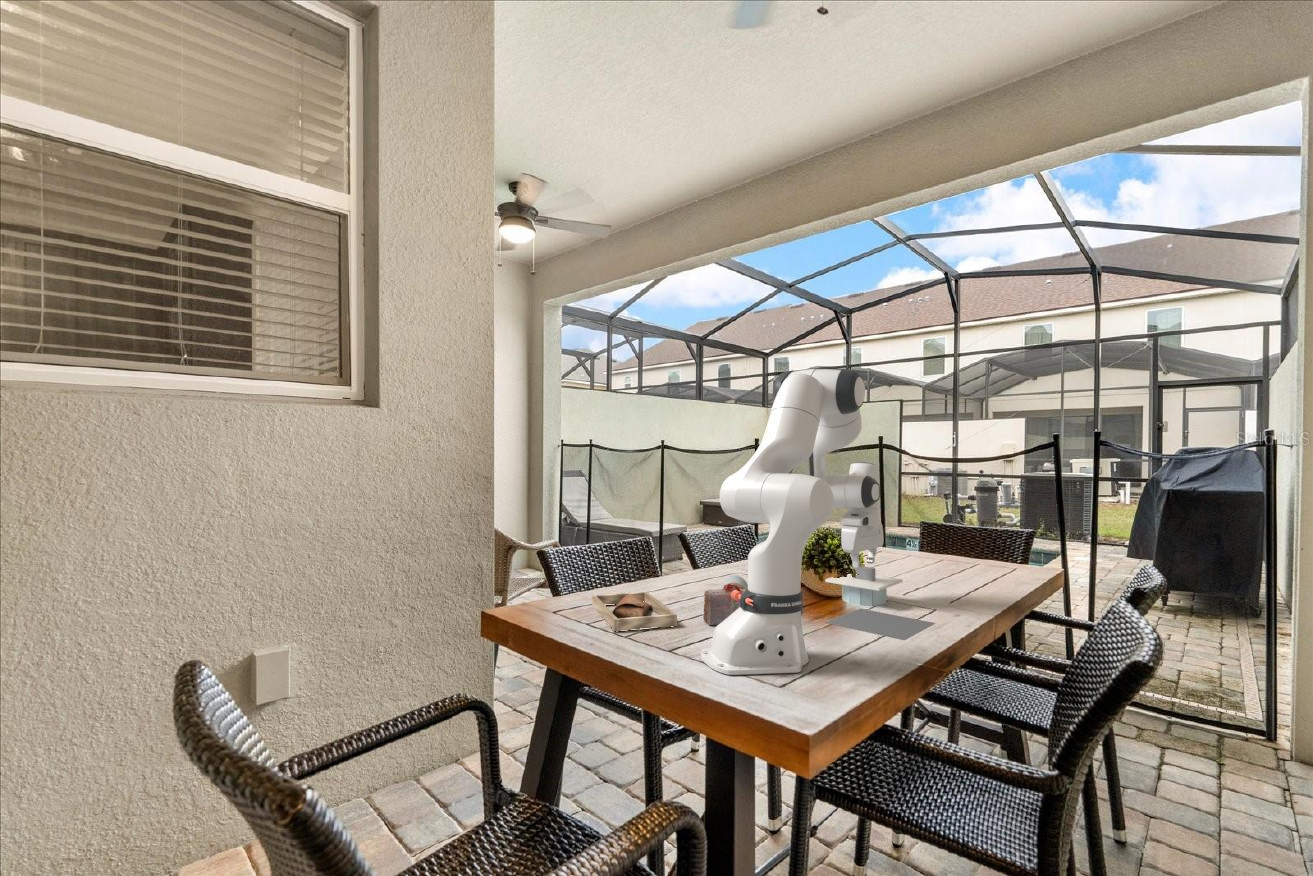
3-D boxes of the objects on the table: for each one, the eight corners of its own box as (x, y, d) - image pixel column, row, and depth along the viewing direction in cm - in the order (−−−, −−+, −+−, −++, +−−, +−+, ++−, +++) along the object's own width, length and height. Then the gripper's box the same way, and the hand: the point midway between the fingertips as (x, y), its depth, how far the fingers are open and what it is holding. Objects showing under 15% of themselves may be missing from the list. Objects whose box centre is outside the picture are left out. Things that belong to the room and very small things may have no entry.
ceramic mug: (720, 607, 168) (721, 580, 168) (721, 600, 176) (722, 574, 176) (758, 609, 166) (759, 582, 167) (758, 602, 174) (758, 576, 175)
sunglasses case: (644, 623, 149) (630, 599, 149) (619, 636, 149) (606, 613, 150) (653, 605, 167) (641, 584, 167) (631, 617, 167) (619, 596, 168)
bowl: (859, 609, 167) (859, 587, 167) (834, 599, 178) (834, 579, 179) (895, 606, 171) (895, 585, 171) (868, 596, 182) (868, 576, 182)
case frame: (614, 632, 143) (614, 619, 143) (592, 606, 168) (592, 595, 168) (677, 627, 148) (677, 615, 148) (646, 602, 173) (646, 591, 173)
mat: (904, 642, 137) (904, 640, 137) (824, 625, 151) (824, 622, 151) (935, 625, 151) (935, 623, 151) (860, 610, 165) (860, 608, 165)
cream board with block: (879, 590, 163) (878, 575, 163) (825, 581, 174) (825, 567, 175) (902, 582, 175) (902, 567, 175) (850, 574, 186) (850, 560, 186)
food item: (752, 618, 158) (752, 580, 158) (762, 626, 150) (762, 587, 150) (701, 619, 156) (702, 581, 156) (708, 628, 148) (709, 588, 148)
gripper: (868, 514, 185) (868, 559, 184) (837, 519, 170) (837, 568, 170) (889, 516, 181) (889, 562, 180) (858, 521, 166) (858, 571, 165)
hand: (863, 565), depth 175 cm, fingers open, 8 cm apart
